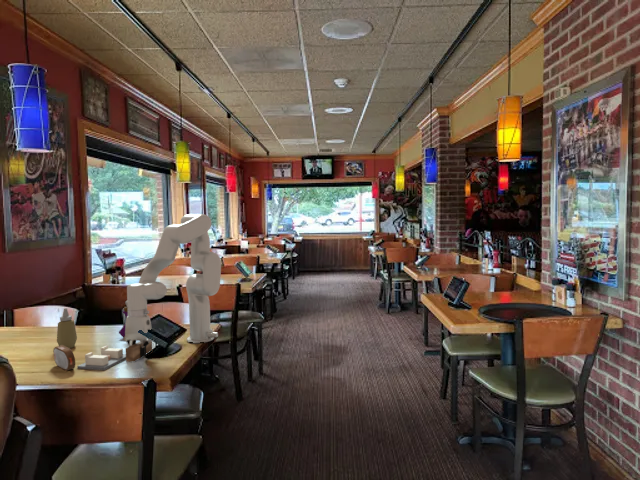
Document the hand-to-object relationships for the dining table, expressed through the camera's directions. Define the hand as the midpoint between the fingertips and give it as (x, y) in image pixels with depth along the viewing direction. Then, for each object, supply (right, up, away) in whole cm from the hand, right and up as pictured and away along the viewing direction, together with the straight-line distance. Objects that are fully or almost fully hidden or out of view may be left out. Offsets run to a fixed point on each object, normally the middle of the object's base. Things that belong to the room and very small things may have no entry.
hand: (138, 355), depth 184 cm
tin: (-25, -2, -12) cm, 27 cm away
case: (0, -1, +1) cm, 1 cm away
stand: (-11, -1, -6) cm, 13 cm away
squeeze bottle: (-39, -1, +16) cm, 42 cm away
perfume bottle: (-18, +1, +32) cm, 36 cm away
